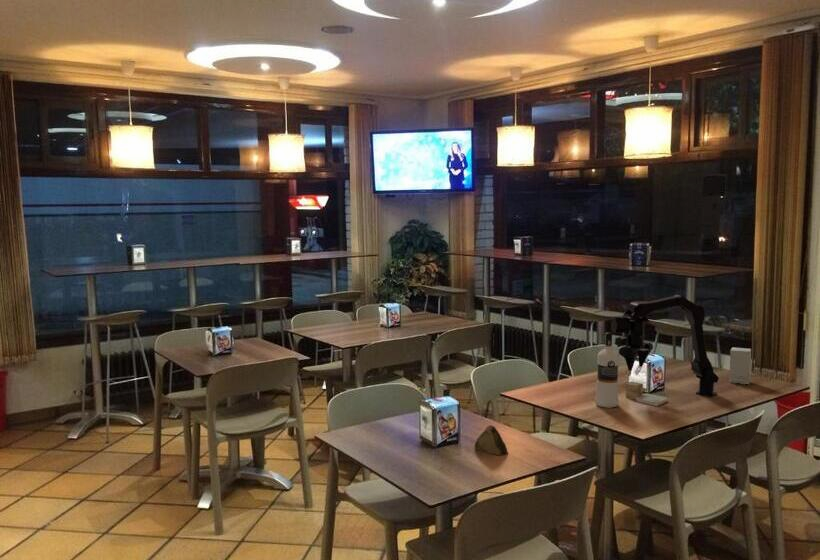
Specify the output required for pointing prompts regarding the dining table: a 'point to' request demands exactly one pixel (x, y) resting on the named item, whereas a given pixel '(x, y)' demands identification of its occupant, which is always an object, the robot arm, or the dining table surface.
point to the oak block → (634, 389)
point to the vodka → (607, 375)
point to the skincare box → (740, 365)
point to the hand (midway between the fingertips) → (635, 368)
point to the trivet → (651, 399)
